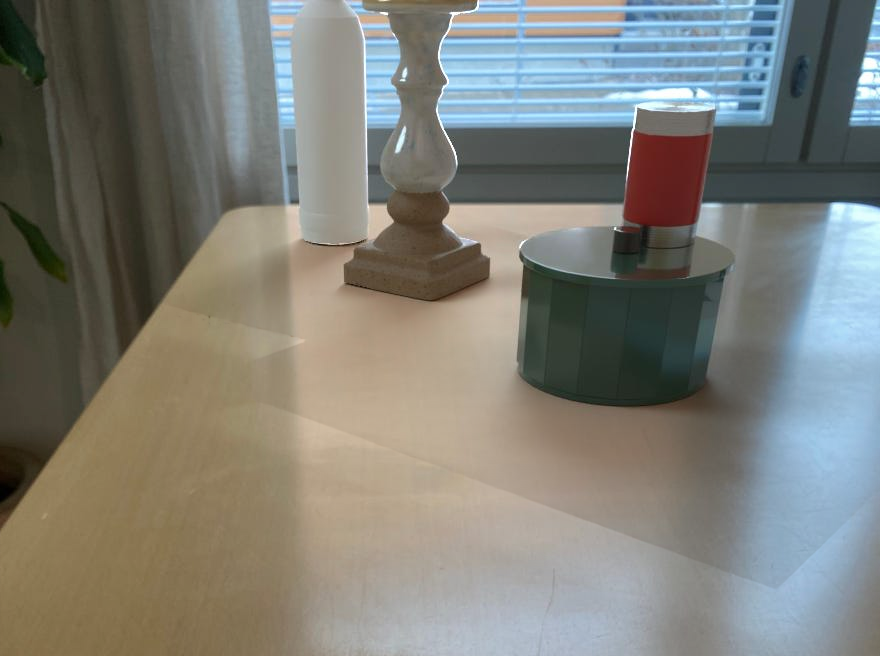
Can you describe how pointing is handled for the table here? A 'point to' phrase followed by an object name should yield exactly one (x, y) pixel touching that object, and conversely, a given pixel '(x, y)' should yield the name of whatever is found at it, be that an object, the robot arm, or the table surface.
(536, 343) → the pot
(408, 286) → the candle holder
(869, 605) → the table surface
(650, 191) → the can
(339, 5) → the bottle
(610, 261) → the pot lid
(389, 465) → the table surface
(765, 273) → the table surface
